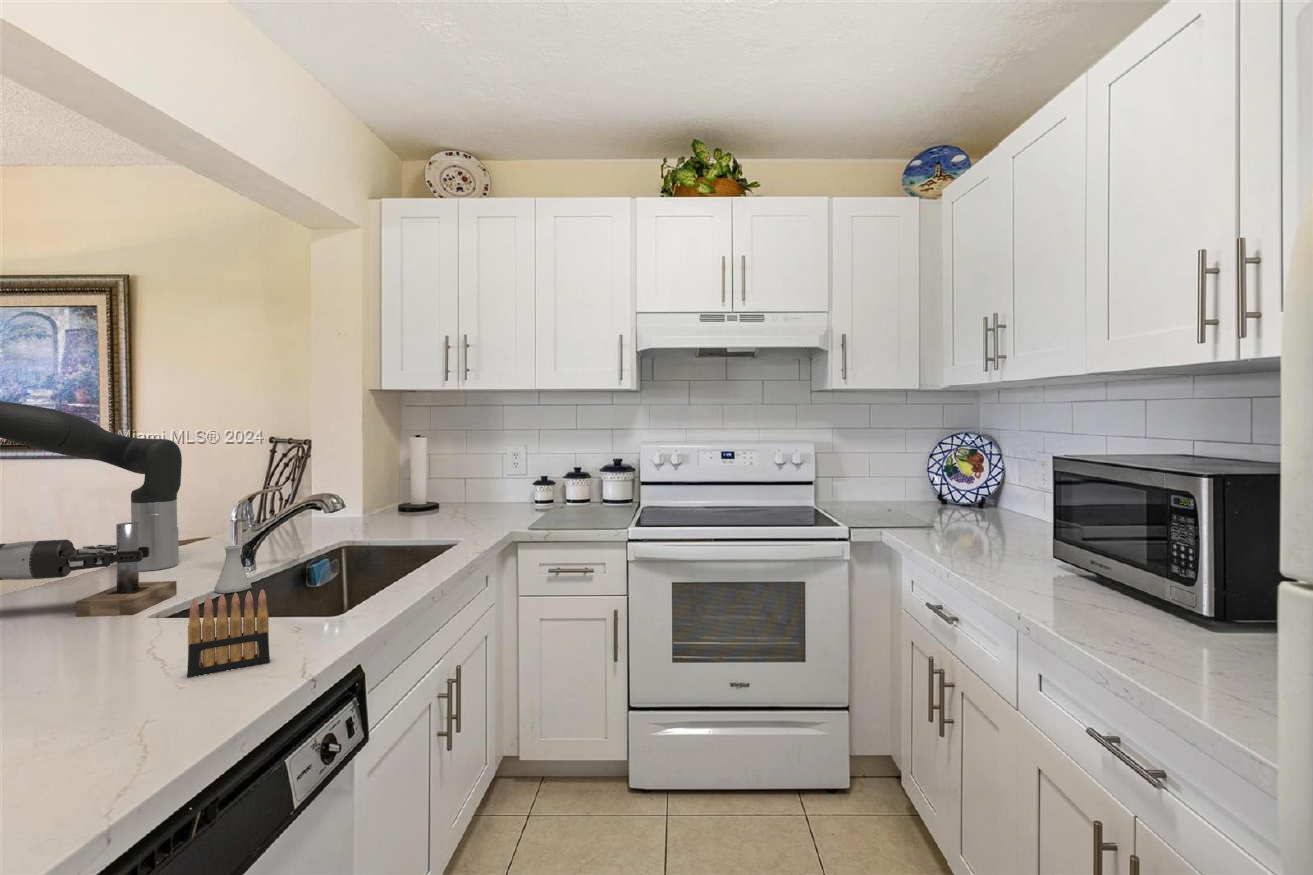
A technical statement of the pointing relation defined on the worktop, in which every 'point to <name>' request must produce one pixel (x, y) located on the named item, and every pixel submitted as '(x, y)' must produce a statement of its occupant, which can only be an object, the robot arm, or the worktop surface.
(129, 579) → the peg
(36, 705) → the worktop surface
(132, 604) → the hole block
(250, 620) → the ammunition clip
